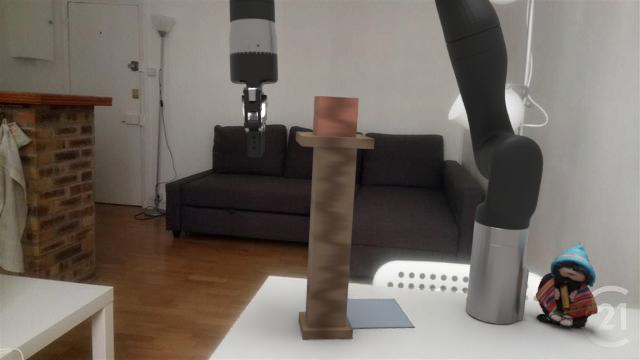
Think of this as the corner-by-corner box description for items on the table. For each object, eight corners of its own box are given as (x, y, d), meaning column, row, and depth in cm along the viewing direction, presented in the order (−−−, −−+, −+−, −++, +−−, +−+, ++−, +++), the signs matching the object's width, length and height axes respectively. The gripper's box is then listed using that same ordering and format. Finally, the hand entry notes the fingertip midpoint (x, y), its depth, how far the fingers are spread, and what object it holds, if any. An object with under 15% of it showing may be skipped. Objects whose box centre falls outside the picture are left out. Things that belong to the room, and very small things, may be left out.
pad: (394, 299, 96) (394, 298, 96) (414, 327, 84) (414, 326, 84) (338, 299, 94) (338, 298, 94) (351, 328, 83) (351, 327, 83)
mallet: (337, 130, 92) (339, 97, 92) (356, 137, 76) (358, 98, 75) (305, 129, 92) (306, 96, 91) (317, 136, 75) (319, 96, 74)
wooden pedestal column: (348, 310, 90) (360, 134, 85) (361, 338, 79) (375, 139, 74) (288, 311, 88) (296, 131, 83) (293, 339, 78) (302, 136, 73)
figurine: (531, 326, 87) (541, 244, 85) (533, 311, 93) (543, 235, 91) (595, 340, 83) (608, 254, 80) (593, 324, 89) (605, 244, 87)
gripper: (276, 45, 71) (279, 158, 73) (277, 58, 85) (280, 152, 87) (224, 46, 71) (228, 159, 73) (234, 58, 85) (237, 152, 87)
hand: (256, 155), depth 80 cm, fingers open, 8 cm apart
